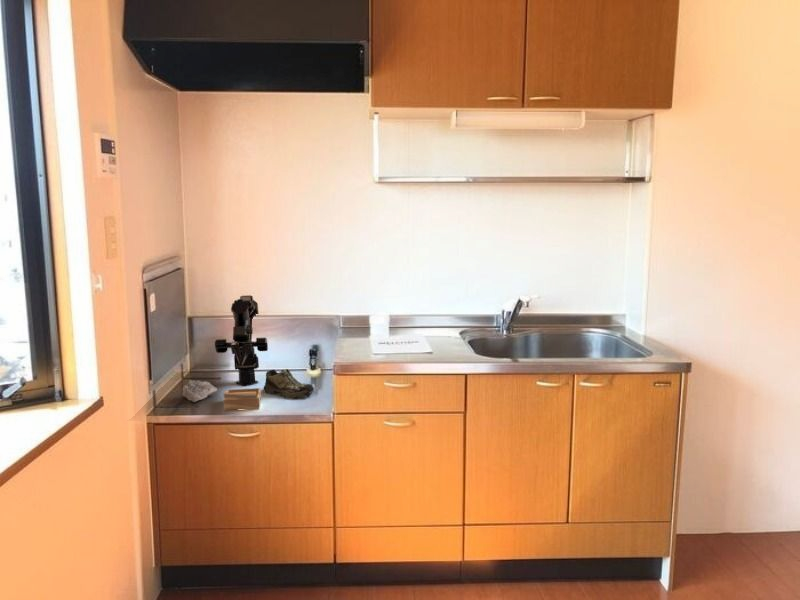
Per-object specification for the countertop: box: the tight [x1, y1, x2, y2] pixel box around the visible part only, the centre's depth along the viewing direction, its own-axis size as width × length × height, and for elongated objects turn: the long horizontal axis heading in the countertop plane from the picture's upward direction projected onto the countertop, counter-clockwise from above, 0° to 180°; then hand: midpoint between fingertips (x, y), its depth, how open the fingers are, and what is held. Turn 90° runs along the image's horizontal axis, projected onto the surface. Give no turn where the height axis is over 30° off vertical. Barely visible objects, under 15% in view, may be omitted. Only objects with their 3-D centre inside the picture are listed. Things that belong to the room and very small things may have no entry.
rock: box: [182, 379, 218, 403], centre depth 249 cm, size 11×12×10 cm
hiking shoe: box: [262, 368, 314, 400], centre depth 253 cm, size 8×21×9 cm, turn 65°
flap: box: [222, 392, 257, 400], centre depth 232 cm, size 6×11×1 cm
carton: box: [223, 387, 262, 411], centre depth 242 cm, size 12×12×4 cm
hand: (241, 365), depth 245 cm, fingers closed
